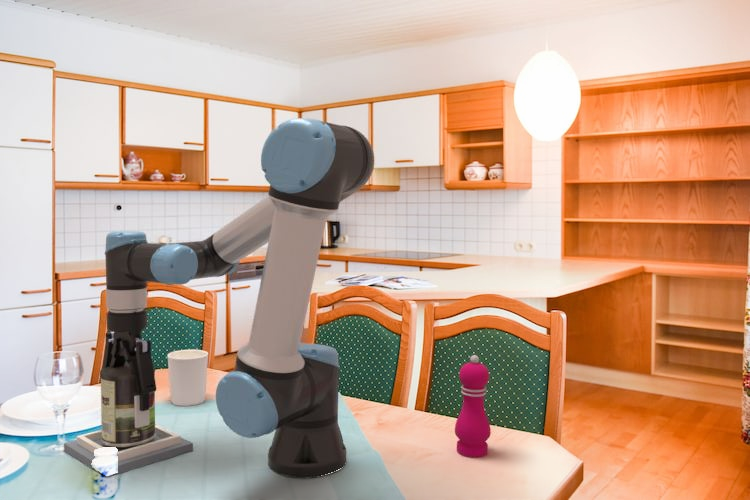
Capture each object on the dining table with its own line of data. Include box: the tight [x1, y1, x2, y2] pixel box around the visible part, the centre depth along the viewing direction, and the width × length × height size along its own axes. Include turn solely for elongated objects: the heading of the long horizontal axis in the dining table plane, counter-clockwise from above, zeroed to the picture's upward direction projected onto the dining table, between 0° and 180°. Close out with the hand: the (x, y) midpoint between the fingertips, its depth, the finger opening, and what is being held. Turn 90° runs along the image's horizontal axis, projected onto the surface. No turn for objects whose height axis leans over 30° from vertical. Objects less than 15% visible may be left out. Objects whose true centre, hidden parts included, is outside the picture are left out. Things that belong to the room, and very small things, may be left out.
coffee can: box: [99, 362, 156, 447], centre depth 130 cm, size 10×10×14 cm
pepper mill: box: [454, 354, 492, 458], centre depth 132 cm, size 7×7×20 cm
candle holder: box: [166, 349, 209, 407], centre depth 163 cm, size 10×10×12 cm
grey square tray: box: [63, 423, 194, 475], centre depth 131 cm, size 18×18×3 cm
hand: (128, 419), depth 131 cm, fingers closed on coffee can, 10 cm apart
